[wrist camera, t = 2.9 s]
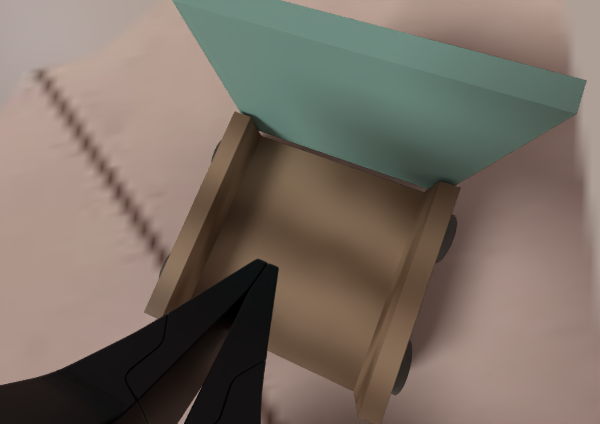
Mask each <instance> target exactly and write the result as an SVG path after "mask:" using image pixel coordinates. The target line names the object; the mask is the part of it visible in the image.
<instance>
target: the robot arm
mask: <svg viewBox="0 0 600 424" xmlns="http://www.w3.org/2000/svg"><path fill="white" fill-rule="evenodd" d="M278 272H279V267H278V266H275V265H273V264H271V263H269V264H268V263H267V262H266V261H263V260H261V259H255V260H254V261H252V262H250V263H249V264H247V265H245V266H244V267H242V268H240V269H239V270H237V271H236V272H234V273H232V274H231V275H229V276H227V277H226V278H224V279H223V280H221V281H219V282H218V283H216V284H214V285H213V286H211V287H209V288H208V289H206V290H205V291H203V292H201V293H200V294H198V295H196V296H195V297H193V298H192V299H190V300H188V301H187V302H185V303H183V304H182V305H180V306H179V307H177V308H175V309H174V310H172V311H170V312H169V313H168V315H167V314H165V315H164V316H162V317H160V318H159V319H157V320H156V321H154V322H152V323H150V324H149V325H147V326H145V327H144V328H142V329H140V330H138V331H137V332H135V333H133V334H131V335H129V336H127V337H125V338H123V339H121V340H119V341H117V342H115V343H113V344H111V345H109V346H107V347H105V348H103V349H101V350H99V351H97V352H95V353H93V354H91V355H89V356H87V357H85V358H83V359H81V360H79V361H77V362H75V363H73V364H71V365H69V366H66V367H64V368H62V369H60V370H57V371H55V372H52V373H49V374H46V375H43V376H39V377H36V378H31V379H27V380H22V381H18V382H13V383H8V384H4V385H0V424H178V422H179V421H180V419H181V417H182V416H183V414H184V413H185V411H186V410H187V408H188V407H189V405H190V404H191V402H192V401H193V399H194V398H195V396H196V395H197V393H198V391H199V390H200V388H201V387H202V388H201V390H200V392H199V394H198V396H197V398H196V400H195V402H194V404H193V406H192V408H191V410H190V412H189V414H188V416H187V418H186V420H185V422H184V424H261V403H262V389H263V380H264V372H265V365H266V357H267V350H268V343H269V336H270V329H271V321H272V314H273V307H274V300H275V293H276V286H277V279H278Z"/></svg>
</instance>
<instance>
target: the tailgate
mask: <svg viewBox="0 0 600 424" xmlns="http://www.w3.org/2000/svg"><path fill="white" fill-rule="evenodd" d="M172 1H173V3H174V4H175V6H176V8H177V9H178V11H179V12H180V14H181V16H182V17H183V19H184V21H185V22H186V24H187V26H188V27H189V29H190V30H191V32H192V34H193V35H194V37H195V39H196V40H197V42H198V44H199V45H200V47H201V49H202V50H203V52H204V53H205V55H206V57H207V58H208V60H209V62H210V63H211V65H212V67H213V68H214V70H215V72H216V73H217V75H218V76H219V78H220V80H221V81H222V83H223V85H224V86H225V88H226V90H227V91H228V93H229V94H230V96H231V98H232V99H233V101H234V103H235V104H236V106H237V108H238V109H239V111H240V113H241V114H243V115H246V116H249V117H251V119H252V120H253V122H254V124H255V126H256V127H257V129H258V131H261V132H264V133H267V134H270V135H273V136H276V137H279V138H282V139H284V140H287V141H290V142H293V143H296V144H299V145H302V146H305V147H308V148H311V149H314V150H316V151H319V152H322V153H325V154H328V155H331V156H334V157H337V158H340V159H343V160H346V161H348V162H351V163H354V164H357V165H360V166H363V167H366V168H369V169H372V170H375V171H378V172H380V173H383V174H386V175H389V176H392V177H395V178H398V179H401V180H404V181H407V182H410V183H412V184H415V185H418V186H421V187H424V188H427V189H429V188H431V187H432V186H434V185H435V184H436V183H438V182H439V181H442V182H445V183H448V184H451V185H454V186H455V185H457V184H458V183H460V182H462V181H463V180H465V179H467V178H469V177H470V176H472V175H474V174H475V173H477V172H479V171H480V170H482V169H484V168H486V167H487V166H489V165H491V164H492V163H494V162H496V161H497V160H499V159H501V158H503V157H504V156H506V155H508V154H509V153H511V152H513V151H514V150H516V149H518V148H519V147H521V146H523V145H525V144H526V143H528V142H530V141H531V140H533V139H535V138H536V137H538V136H540V135H542V134H543V133H545V132H547V131H548V130H550V129H552V128H553V127H555V126H557V125H559V124H560V123H562V122H564V121H565V120H567V119H569V118H570V117H572V116H574V115H575V114H577V111H578V108H579V104H580V101H581V97H582V94H583V91H584V87H585V84H586V80H583V79H579V78H575V77H571V76H568V75H564V74H560V73H556V72H552V71H549V70H545V69H541V68H537V67H533V66H529V65H526V64H522V63H518V62H514V61H510V60H506V59H503V58H499V57H495V56H491V55H487V54H484V53H480V52H476V51H472V50H468V49H464V48H461V47H457V46H453V45H449V44H445V43H442V42H438V41H434V40H430V39H426V38H422V37H419V36H415V35H411V34H407V33H403V32H399V31H396V30H392V29H388V28H384V27H380V26H377V25H373V24H369V23H365V22H361V21H357V20H354V19H350V18H346V17H342V16H338V15H334V14H331V13H327V12H323V11H319V10H315V9H312V8H308V7H304V6H300V5H296V4H292V3H289V2H285V1H281V0H172Z"/></svg>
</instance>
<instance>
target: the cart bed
mask: <svg viewBox="0 0 600 424" xmlns="http://www.w3.org/2000/svg"><path fill="white" fill-rule="evenodd" d="M459 191H460V187H457V186H454V185H451V184H448V183H445V182H442V181H439V182H438V183H436V184H435V185H434V186H432V187H431V188H429V189H428V190H427V191H425V192H421V191H418V190H415V189H413V188H410V187H407V186H404V185H401V184H398V183H395V182H392V181H389V180H387V179H384V178H381V177H378V176H375V175H372V174H369V173H366V172H363V171H361V170H358V169H355V168H352V167H349V166H346V165H343V164H340V163H338V162H335V161H332V160H329V159H326V158H323V157H320V156H317V155H314V154H312V153H309V152H306V151H303V150H300V149H297V148H294V147H291V146H288V145H286V144H283V143H280V142H277V141H274V140H271V139H268V138H265V137H262V136H261V135H260V133H259V131H258V129H257V127H256V126H255V124H254V122H253V120H252V119H251V117H249V116H246V115H243V114H240V113H237V112H234V114H233V116H232V118H231V121H230V123H229V125H228V127H227V130H226V132H225V134H224V136H223V138H222V140H221V141H220V142H219V144H218V145H217V147H216V149H215V151H214V154H213V157H212V161H211V165H210V167H209V169H208V172H207V174H206V176H205V178H204V180H203V183H202V185H201V187H200V189H199V192H198V194H197V196H196V198H195V200H194V203H193V205H192V207H191V209H190V211H189V214H188V216H187V218H186V220H185V223H184V225H183V227H182V229H181V231H180V234H179V236H178V238H177V240H176V242H175V245H174V247H173V249H172V251H171V253H170V254H169V256H168V257H167V259H166V260H165V262H164V264H163V266H162V268H161V271H160V275H159V280H158V282H157V285H156V287H155V289H154V291H153V293H152V296H151V298H150V300H149V302H148V304H147V307H146V309H145V311H144V313H147V314H149V315H151V316H153V317H155V318H157V319H159V318H160V317H162V316H164V315H165V314H167V315H168V313H169V312H170V311H172V310H174V309H175V308H177V307H179V306H180V305H182V304H183V303H185V302H187V301H188V300H190V299H192V298H193V297H195V296H196V295H198V294H200V293H201V292H203V291H205V290H206V289H208V288H209V287H211V286H213V285H214V284H216V283H218V282H219V281H221V280H223V279H224V278H226V277H227V276H229V275H231V274H232V273H234V272H236V271H237V270H239V269H240V268H242V267H244V266H245V265H247V264H249V263H250V262H252V261H254V260H255V259H261V260H263V261H266V262H267V263H268V264H269V263H271V264H273V265H275V266H278V267H279V272H278V279H277V286H276V293H275V300H274V307H273V314H272V321H271V329H270V336H269V343H268V350H267V351H270V352H272V353H274V354H276V355H278V356H280V357H282V358H284V359H286V360H289V361H291V362H293V363H295V364H297V365H299V366H301V367H303V368H305V369H308V370H310V371H312V372H314V373H316V374H318V375H320V376H322V377H324V378H327V379H329V380H331V381H333V382H335V383H337V384H339V385H341V386H343V387H346V388H348V389H350V390H352V391H354V396H355V402H356V408H357V413H358V417H360V418H362V419H364V420H366V421H368V422H370V423H372V424H381V421H382V418H383V415H384V412H385V409H386V407H387V404H388V401H389V398H390V395H391V394H393V395H397V394H398V393H399V392H400V391H401V390H402V388H403V386H404V384H405V382H406V379H407V377H408V373H409V370H410V365H411V359H412V344H411V341H410V339H409V338H410V336H411V333H412V330H413V327H414V324H415V321H416V318H417V315H418V312H419V309H420V306H421V303H422V300H423V297H424V294H425V291H426V288H427V285H428V282H429V279H430V276H431V273H432V270H433V268H434V265H435V263H438V262H439V261H440V260H441V259H442V258H443V257H444V256H445V255H446V253H447V251H448V250H449V248H450V246H451V244H452V241H453V239H454V236H455V232H456V227H457V219H456V217H455V216H454V215H452V211H453V208H454V205H455V202H456V200H457V197H458V194H459Z"/></svg>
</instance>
